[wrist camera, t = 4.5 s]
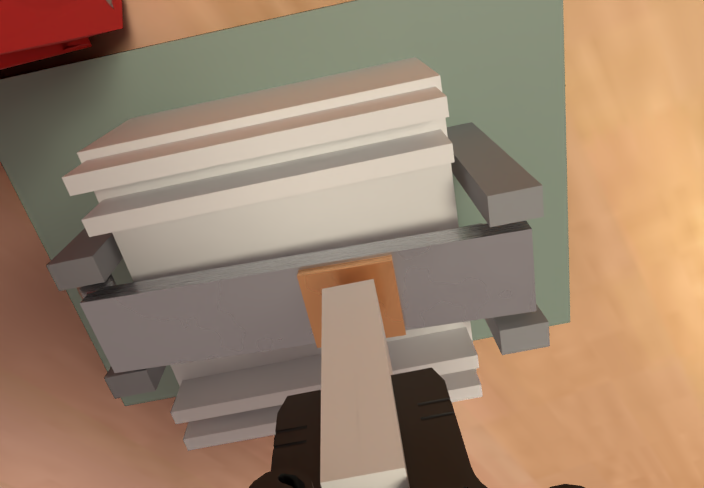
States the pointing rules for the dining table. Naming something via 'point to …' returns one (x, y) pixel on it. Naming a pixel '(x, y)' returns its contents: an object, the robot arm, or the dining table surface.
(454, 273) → the strap
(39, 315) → the dining table surface
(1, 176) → the dining table surface
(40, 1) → the radio
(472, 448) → the dining table surface
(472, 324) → the heatsink
